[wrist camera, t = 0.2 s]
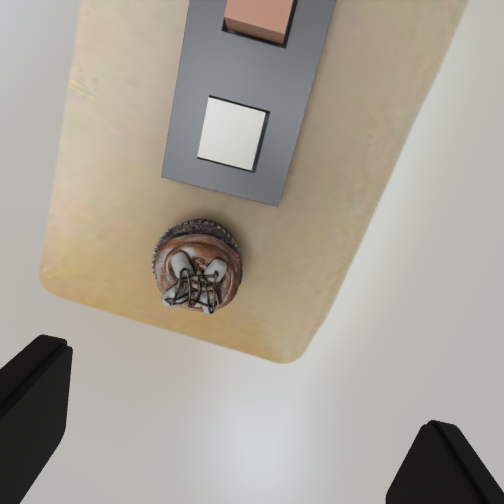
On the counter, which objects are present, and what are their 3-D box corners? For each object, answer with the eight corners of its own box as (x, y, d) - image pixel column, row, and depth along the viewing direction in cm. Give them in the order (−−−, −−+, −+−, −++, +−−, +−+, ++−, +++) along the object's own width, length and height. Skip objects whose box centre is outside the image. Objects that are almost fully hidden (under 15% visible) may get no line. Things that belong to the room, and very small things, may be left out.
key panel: (212, -70, 30) (205, -101, 26) (340, -32, 31) (351, -56, 27) (171, 173, 37) (161, 177, 33) (276, 200, 38) (278, 206, 34)
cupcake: (244, 211, 38) (239, 234, 29) (244, 289, 41) (240, 333, 32) (160, 210, 38) (127, 233, 29) (167, 288, 41) (139, 332, 32)
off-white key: (213, 101, 31) (208, 97, 28) (264, 115, 32) (265, 112, 29) (202, 155, 33) (197, 156, 30) (252, 168, 33) (251, 170, 30)
